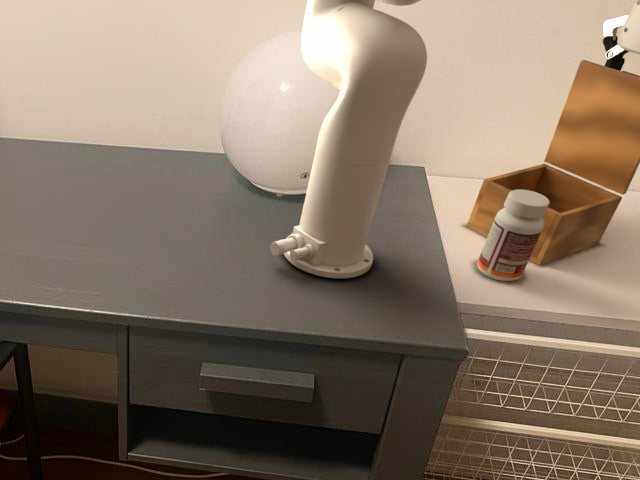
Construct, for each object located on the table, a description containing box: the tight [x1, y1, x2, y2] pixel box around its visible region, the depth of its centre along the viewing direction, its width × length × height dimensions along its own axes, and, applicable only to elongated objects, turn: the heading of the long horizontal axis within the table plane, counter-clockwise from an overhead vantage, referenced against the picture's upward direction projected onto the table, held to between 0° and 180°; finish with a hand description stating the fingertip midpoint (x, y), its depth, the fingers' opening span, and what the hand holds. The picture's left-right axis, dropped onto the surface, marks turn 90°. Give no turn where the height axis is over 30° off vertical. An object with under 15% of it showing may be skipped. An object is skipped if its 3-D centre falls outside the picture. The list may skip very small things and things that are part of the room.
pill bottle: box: [476, 190, 549, 282], centre depth 102 cm, size 6×6×11 cm
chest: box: [466, 163, 623, 266], centre depth 112 cm, size 15×13×8 cm
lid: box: [543, 59, 640, 195], centre depth 108 cm, size 15×13×6 cm
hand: (635, 97), depth 107 cm, fingers open, 9 cm apart
